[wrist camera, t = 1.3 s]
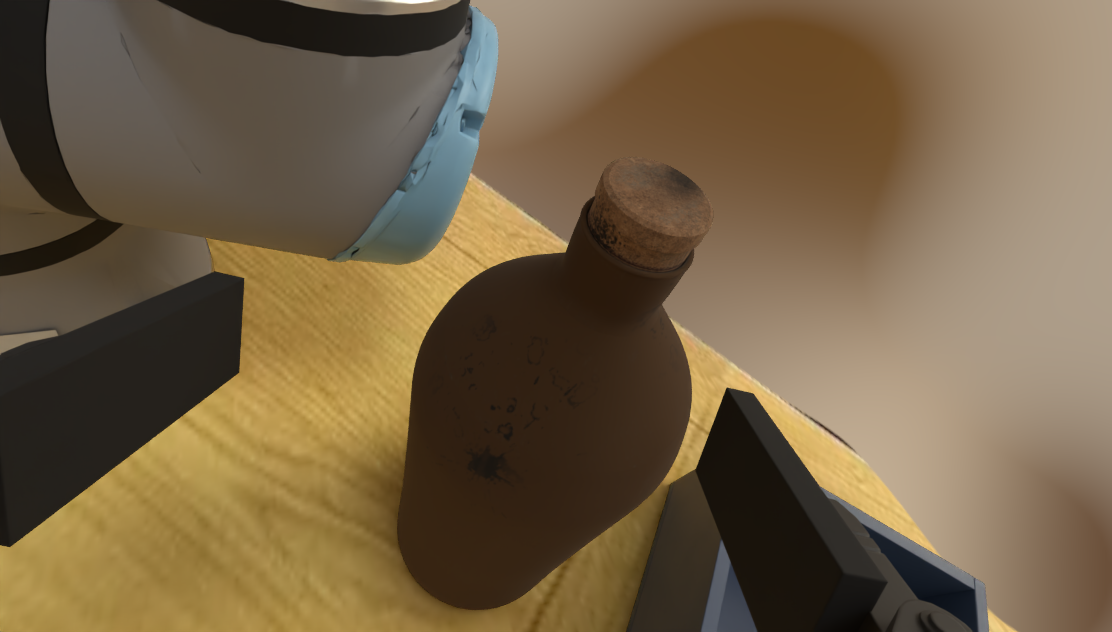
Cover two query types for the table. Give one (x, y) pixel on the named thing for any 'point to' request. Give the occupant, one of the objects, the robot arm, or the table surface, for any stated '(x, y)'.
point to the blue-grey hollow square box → (716, 597)
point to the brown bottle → (551, 394)
